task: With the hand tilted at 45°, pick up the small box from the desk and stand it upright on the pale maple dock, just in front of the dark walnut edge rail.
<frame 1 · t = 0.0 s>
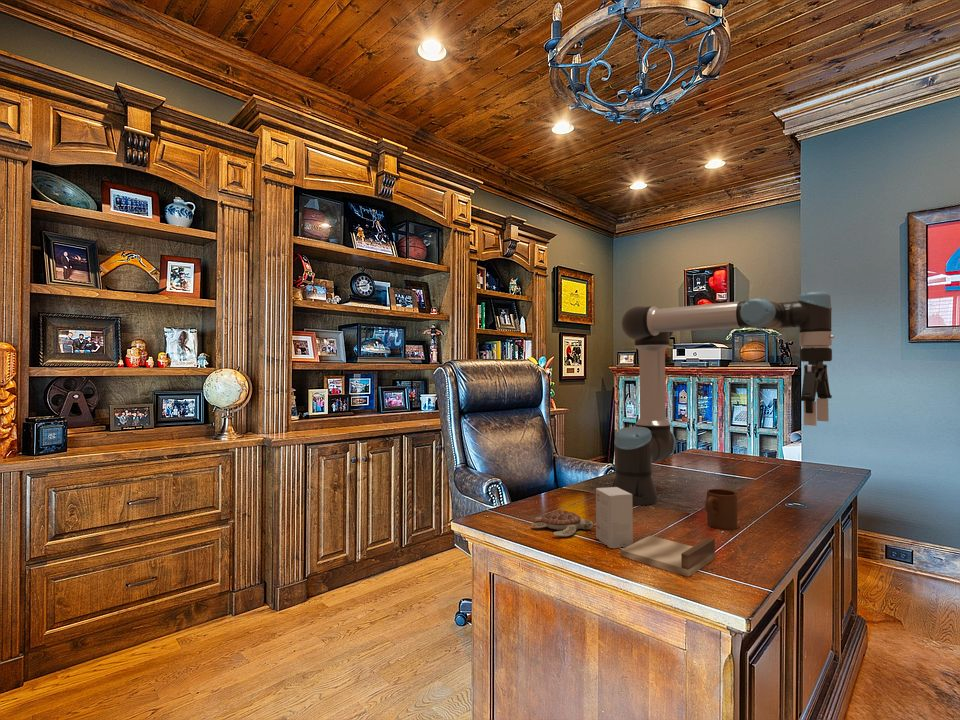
hand: (816, 423, 140), 28 cm above the table, tool pointing down, fingers open, 13 cm apart
decorative turtle: (563, 530, 138), on the table
maple dock: (667, 557, 116), on the table
small box: (614, 543, 126), on the table
mug: (718, 528, 137), on the table
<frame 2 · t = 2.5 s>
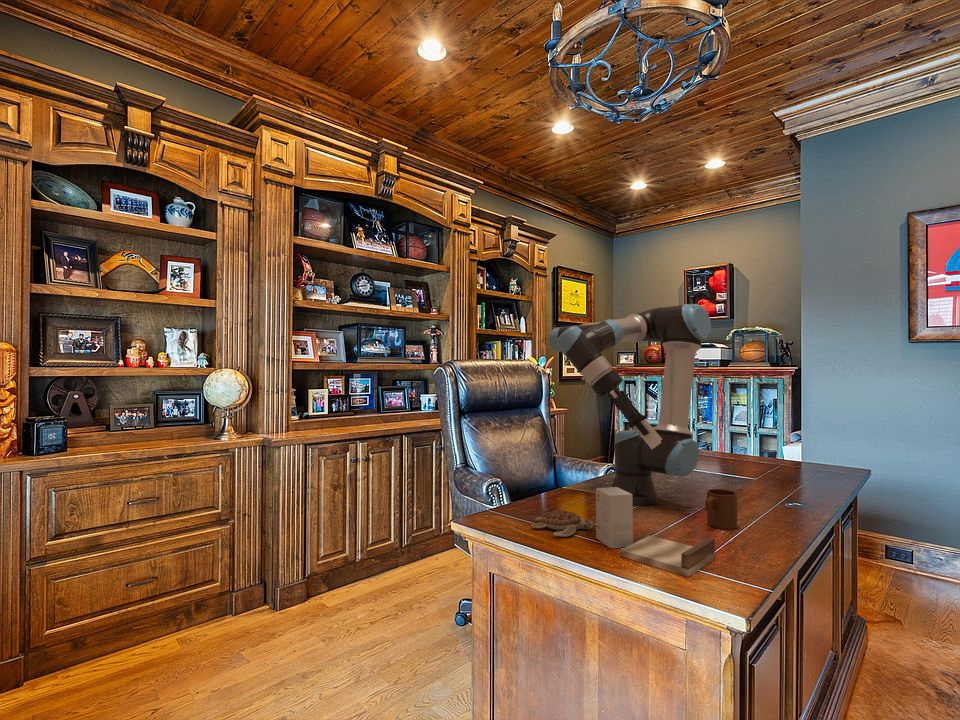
hand: (657, 444, 123), 25 cm above the table, tool tilted 40°, fingers open, 13 cm apart
nothing on the table moved.
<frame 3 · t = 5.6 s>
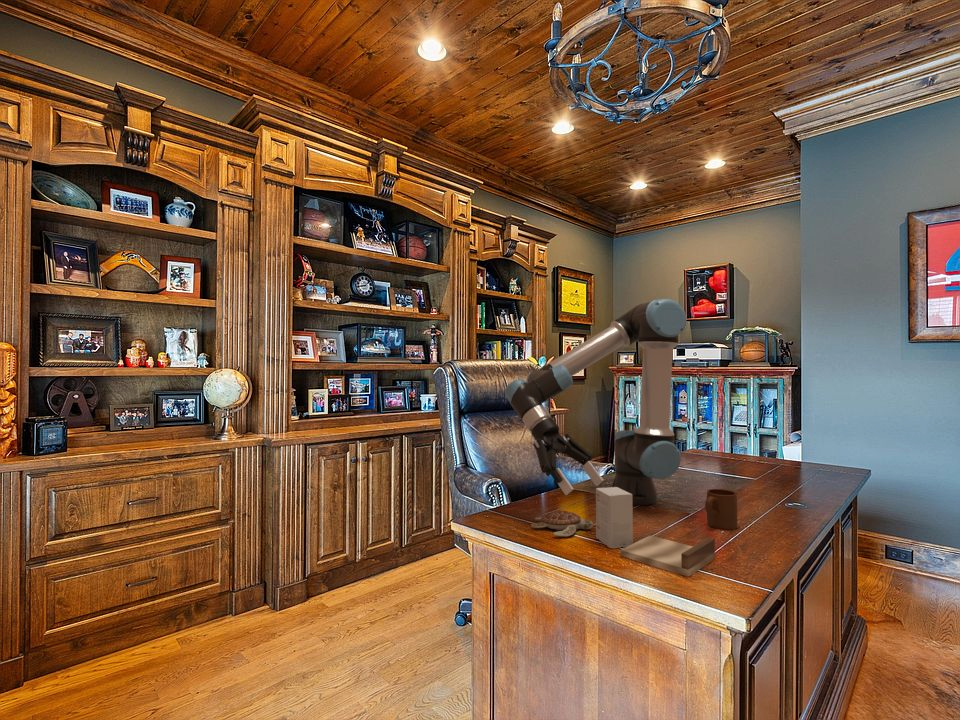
hand: (585, 487, 131), 13 cm above the table, tool tilted 45°, fingers open, 13 cm apart
nothing on the table moved.
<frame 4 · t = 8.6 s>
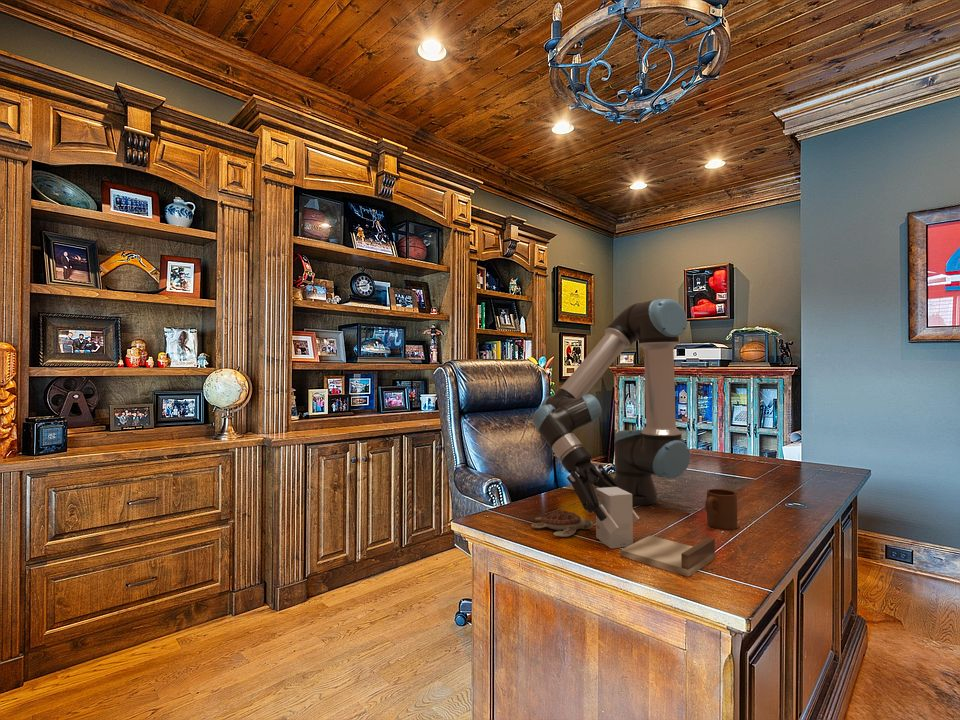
hand: (625, 525, 124), 5 cm above the table, tool tilted 45°, fingers closed on small box, 9 cm apart
small box: (614, 543, 126), on the table, touching gripper
everything else where it was.
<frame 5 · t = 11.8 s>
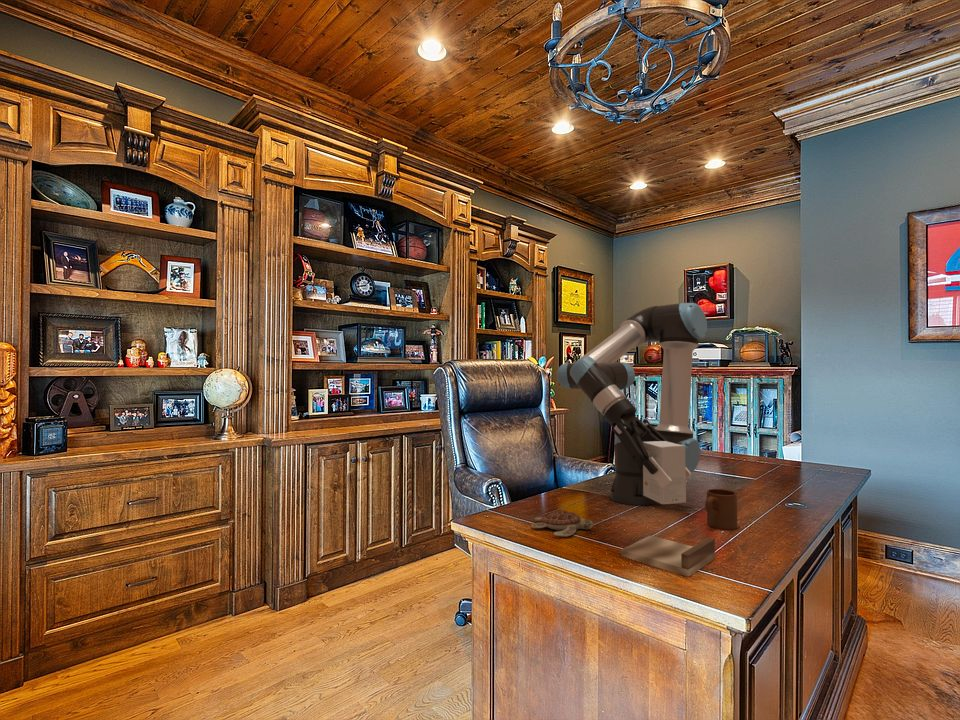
hand: (677, 480, 114), 18 cm above the table, tool tilted 45°, fingers closed on small box, 9 cm apart
small box: (664, 500, 116), point 13 cm above the table, touching gripper
everything else where it was.
when the fingers open (8 cm above the table, at t = 14.9 s): small box drops 2 cm, resting on maple dock.
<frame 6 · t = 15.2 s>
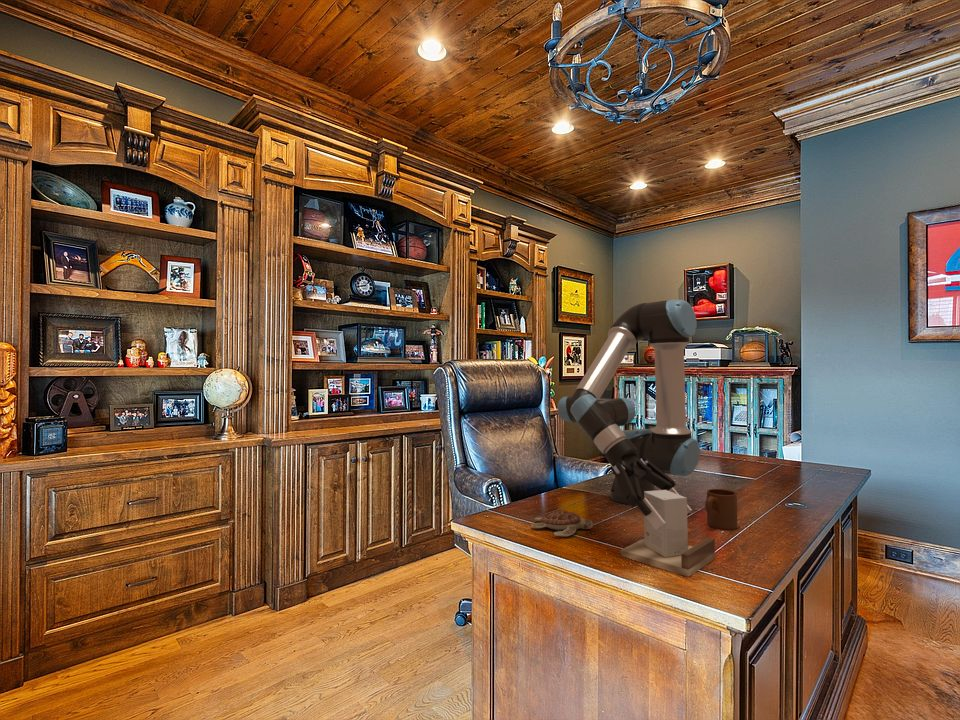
hand: (674, 519, 115), 9 cm above the table, tool tilted 45°, fingers open, 13 cm apart
small box: (665, 550, 116), point 1 cm above the table, touching maple dock
everything else where it was.
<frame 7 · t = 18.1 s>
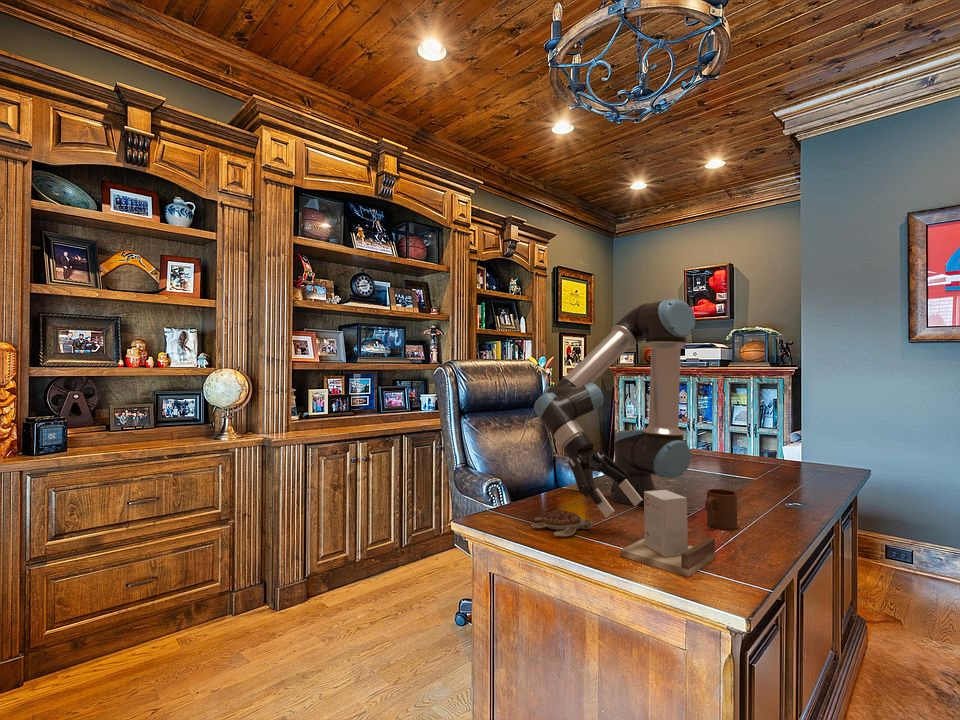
hand: (625, 508, 124), 9 cm above the table, tool tilted 45°, fingers open, 13 cm apart
nothing on the table moved.
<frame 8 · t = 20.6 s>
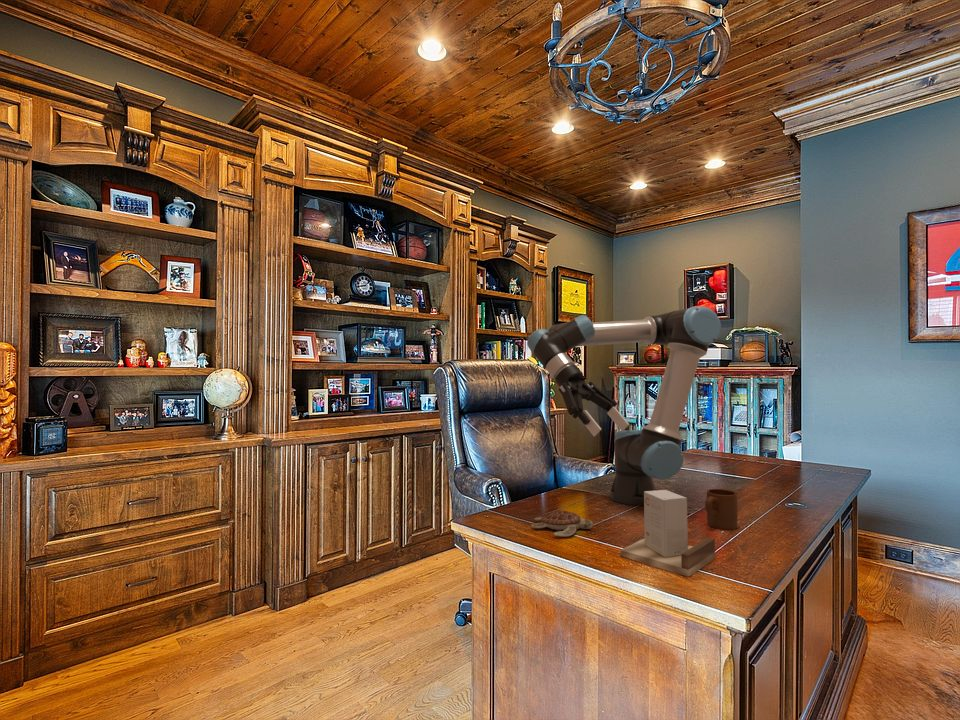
hand: (612, 430, 131), 28 cm above the table, tool tilted 45°, fingers open, 13 cm apart
nothing on the table moved.
at the end: small box inside the target area on the maple dock (0.5 cm from its centre), point 1.3 cm above the maple dock's base; small box tilted 0°; the gripper is holding nothing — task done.
